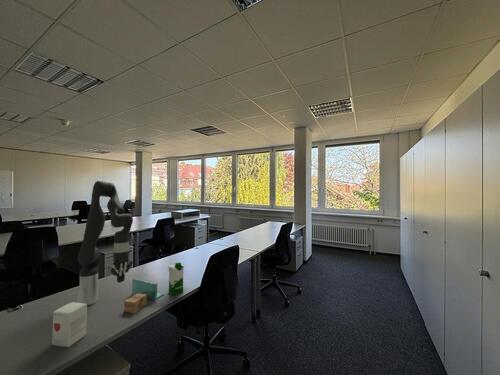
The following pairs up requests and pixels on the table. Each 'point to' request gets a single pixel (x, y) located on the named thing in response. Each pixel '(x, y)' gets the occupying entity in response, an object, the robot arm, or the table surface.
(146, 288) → the bookend
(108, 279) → the table surface
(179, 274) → the milk carton
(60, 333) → the supplement box
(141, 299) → the block
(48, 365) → the table surface
